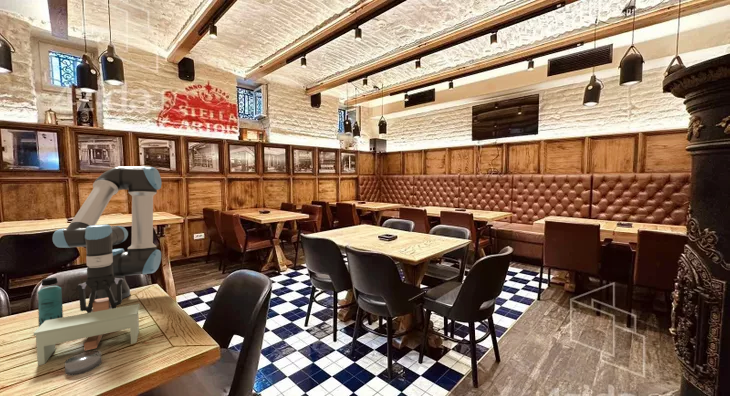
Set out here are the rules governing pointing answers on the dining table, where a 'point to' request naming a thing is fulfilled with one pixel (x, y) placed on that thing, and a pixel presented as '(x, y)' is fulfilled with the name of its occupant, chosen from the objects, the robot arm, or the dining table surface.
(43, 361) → the shelf
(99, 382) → the dining table surface
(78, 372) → the puck
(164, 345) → the dining table surface
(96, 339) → the paddle
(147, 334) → the dining table surface
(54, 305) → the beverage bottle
